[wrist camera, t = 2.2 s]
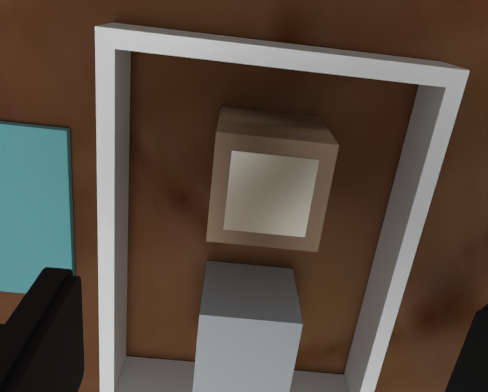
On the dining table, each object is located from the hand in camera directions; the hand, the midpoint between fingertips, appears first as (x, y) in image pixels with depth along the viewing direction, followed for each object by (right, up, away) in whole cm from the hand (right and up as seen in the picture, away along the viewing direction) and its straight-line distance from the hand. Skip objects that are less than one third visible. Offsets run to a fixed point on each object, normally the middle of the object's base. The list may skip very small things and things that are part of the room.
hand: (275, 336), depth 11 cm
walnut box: (0, +5, +13) cm, 14 cm away
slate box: (-1, -3, +17) cm, 17 cm away
